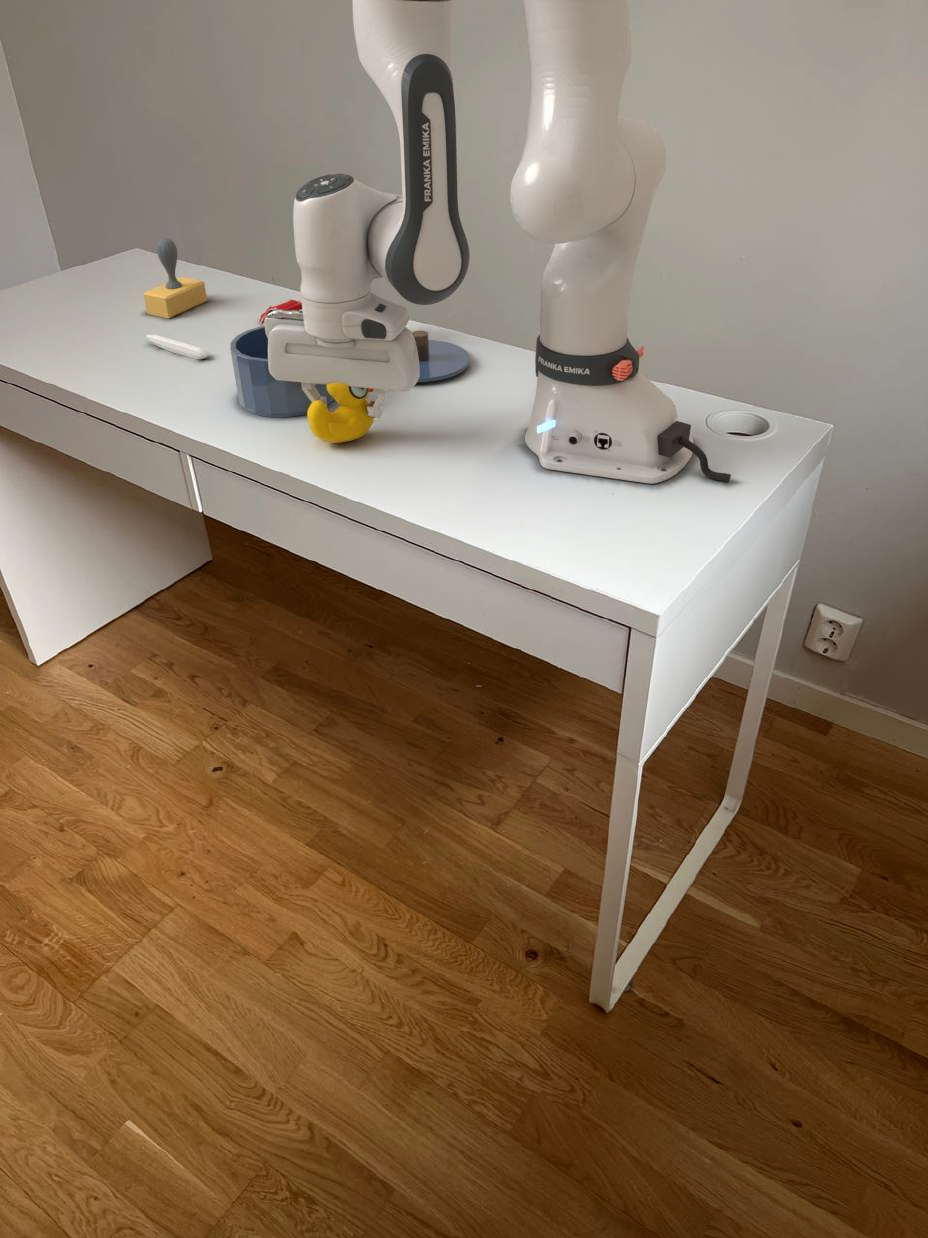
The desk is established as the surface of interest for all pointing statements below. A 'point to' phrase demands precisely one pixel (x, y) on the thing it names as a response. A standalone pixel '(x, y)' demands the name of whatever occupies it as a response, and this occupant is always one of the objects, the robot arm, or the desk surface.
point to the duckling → (341, 414)
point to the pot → (266, 380)
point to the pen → (177, 347)
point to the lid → (439, 358)
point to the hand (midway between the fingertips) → (347, 413)
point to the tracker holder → (283, 305)
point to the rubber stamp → (173, 287)
